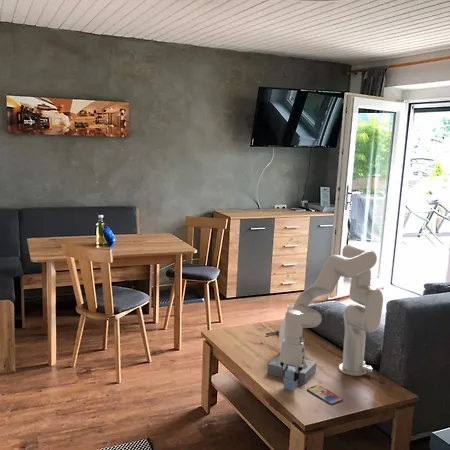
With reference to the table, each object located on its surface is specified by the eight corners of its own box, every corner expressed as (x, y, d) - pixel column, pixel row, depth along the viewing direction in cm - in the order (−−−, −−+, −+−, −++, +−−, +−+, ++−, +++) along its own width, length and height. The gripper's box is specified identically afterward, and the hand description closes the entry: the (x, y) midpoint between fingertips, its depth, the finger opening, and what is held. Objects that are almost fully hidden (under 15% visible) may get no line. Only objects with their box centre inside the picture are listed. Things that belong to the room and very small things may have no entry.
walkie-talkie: (294, 330, 292) (264, 335, 283) (295, 322, 291) (265, 328, 282) (304, 335, 285) (273, 341, 275) (304, 328, 284) (274, 333, 274)
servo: (299, 384, 228) (299, 365, 226) (290, 392, 220) (291, 373, 219) (290, 381, 230) (291, 363, 228) (282, 389, 222) (283, 371, 221)
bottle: (293, 361, 251) (296, 311, 246) (274, 355, 257) (276, 306, 253) (304, 354, 259) (307, 305, 255) (285, 348, 266) (287, 300, 262)
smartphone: (331, 404, 210) (306, 388, 222) (330, 406, 210) (305, 390, 223) (343, 399, 214) (318, 384, 227) (343, 401, 214) (318, 386, 227)
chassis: (315, 371, 240) (316, 361, 239) (304, 383, 228) (305, 373, 227) (280, 362, 249) (280, 352, 248) (267, 373, 237) (268, 363, 236)
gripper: (314, 340, 220) (312, 380, 223) (278, 332, 229) (277, 370, 232) (308, 346, 214) (306, 387, 217) (271, 337, 222) (270, 377, 225)
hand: (291, 378), depth 224 cm, fingers closed on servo, 4 cm apart
